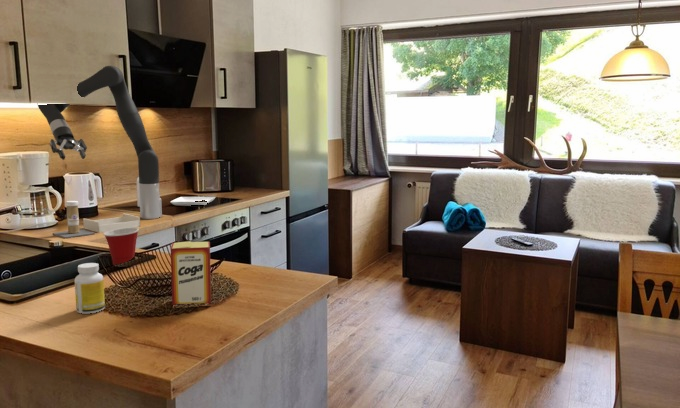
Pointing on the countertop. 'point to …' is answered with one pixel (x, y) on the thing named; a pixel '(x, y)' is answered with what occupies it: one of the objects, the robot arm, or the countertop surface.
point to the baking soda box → (190, 272)
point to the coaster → (67, 235)
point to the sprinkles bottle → (72, 217)
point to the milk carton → (138, 193)
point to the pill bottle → (89, 289)
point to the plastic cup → (122, 244)
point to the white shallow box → (112, 223)
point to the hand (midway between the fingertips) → (74, 158)
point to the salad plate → (191, 201)
